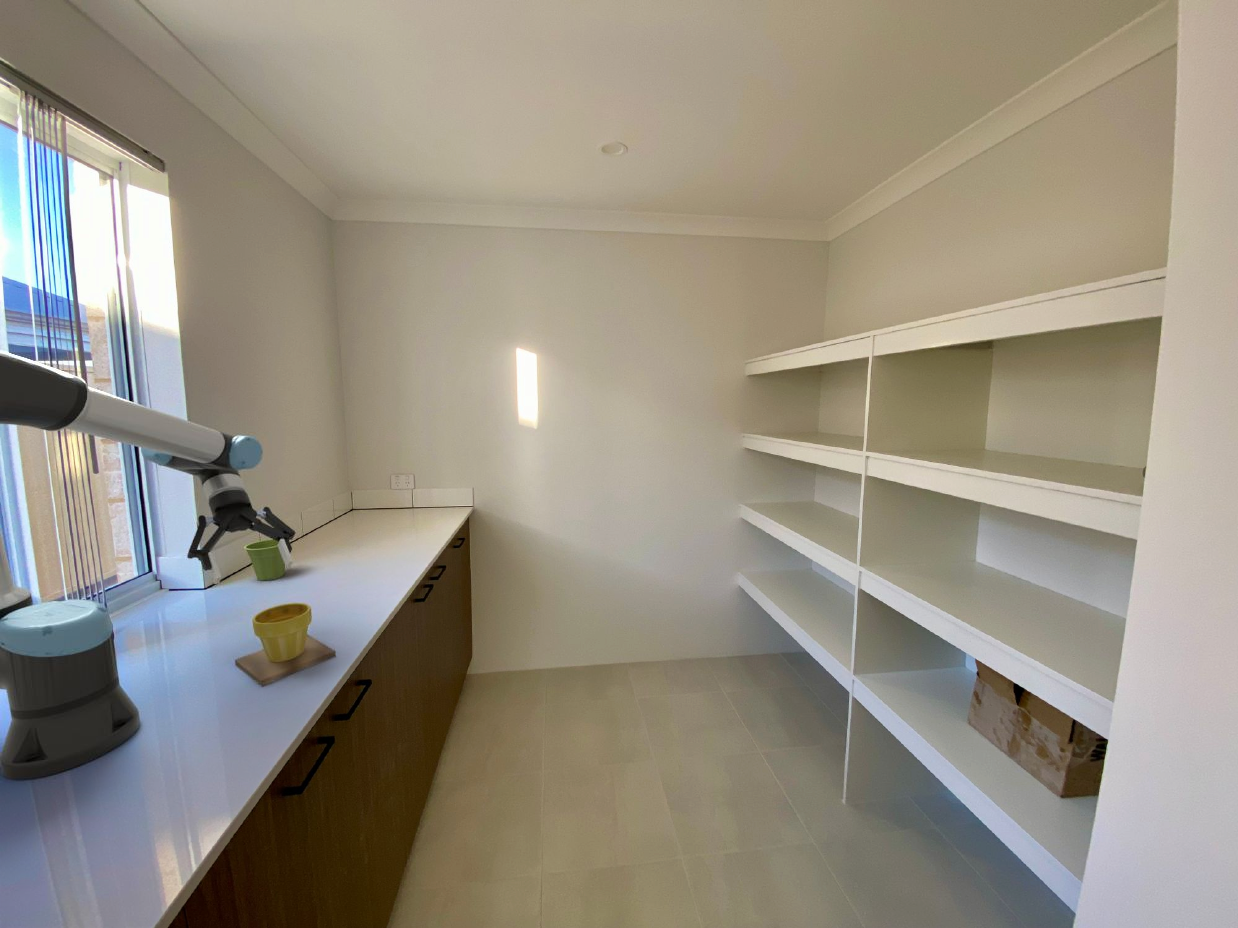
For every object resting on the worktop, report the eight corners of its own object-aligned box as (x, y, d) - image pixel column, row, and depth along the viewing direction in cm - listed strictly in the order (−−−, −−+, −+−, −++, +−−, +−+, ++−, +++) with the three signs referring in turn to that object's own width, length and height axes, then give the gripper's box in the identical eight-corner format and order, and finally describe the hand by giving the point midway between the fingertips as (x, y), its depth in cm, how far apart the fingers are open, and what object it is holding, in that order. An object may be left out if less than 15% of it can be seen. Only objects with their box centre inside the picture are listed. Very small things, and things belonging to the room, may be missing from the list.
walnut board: (261, 686, 95) (260, 680, 95) (235, 664, 103) (234, 659, 103) (335, 655, 107) (335, 650, 107) (306, 638, 115) (306, 633, 114)
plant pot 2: (285, 670, 99) (281, 625, 98) (244, 664, 101) (239, 620, 100) (325, 645, 109) (321, 604, 108) (287, 640, 111) (283, 600, 110)
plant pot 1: (269, 569, 162) (266, 537, 161) (301, 571, 160) (298, 538, 159) (237, 582, 150) (233, 548, 149) (271, 584, 149) (267, 549, 147)
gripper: (283, 499, 127) (311, 566, 121) (155, 515, 107) (180, 597, 101) (290, 482, 124) (320, 550, 117) (159, 495, 103) (186, 579, 97)
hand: (255, 572), depth 109 cm, fingers open, 13 cm apart
